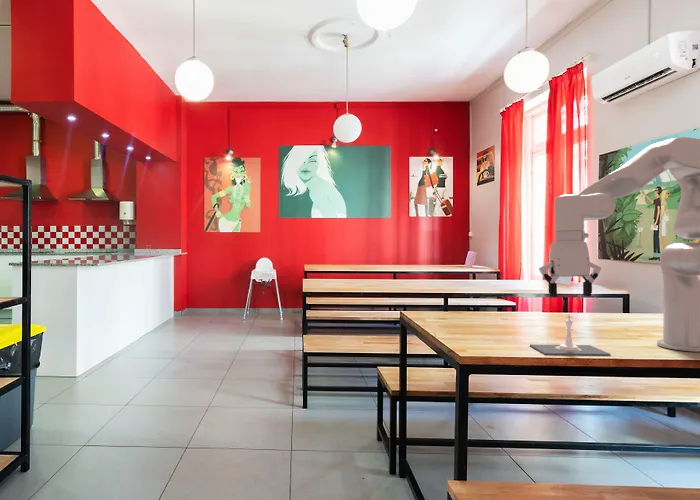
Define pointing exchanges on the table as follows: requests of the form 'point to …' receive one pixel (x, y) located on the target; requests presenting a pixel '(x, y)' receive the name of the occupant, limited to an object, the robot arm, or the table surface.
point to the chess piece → (568, 336)
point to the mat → (557, 350)
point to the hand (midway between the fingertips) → (570, 296)
